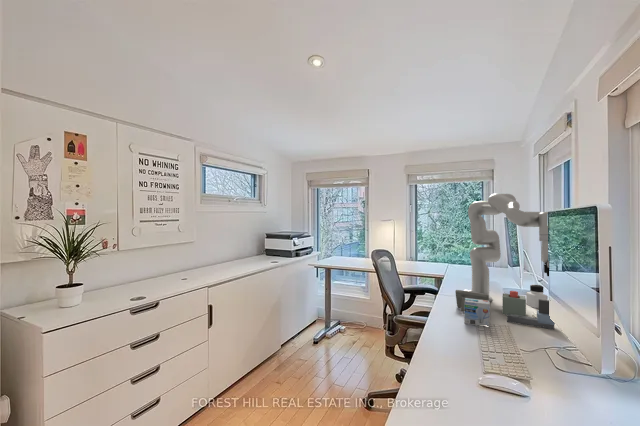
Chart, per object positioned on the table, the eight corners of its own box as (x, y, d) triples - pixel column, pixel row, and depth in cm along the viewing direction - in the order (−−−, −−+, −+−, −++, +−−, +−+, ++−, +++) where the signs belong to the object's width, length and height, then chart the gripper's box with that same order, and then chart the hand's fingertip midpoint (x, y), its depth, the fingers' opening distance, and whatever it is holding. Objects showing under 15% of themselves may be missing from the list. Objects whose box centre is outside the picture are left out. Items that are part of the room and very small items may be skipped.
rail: (506, 321, 143) (506, 315, 143) (507, 319, 146) (506, 313, 146) (554, 329, 133) (554, 323, 133) (553, 326, 136) (553, 320, 136)
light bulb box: (464, 323, 140) (464, 300, 140) (464, 319, 146) (464, 297, 146) (490, 327, 135) (490, 304, 135) (489, 323, 141) (489, 300, 141)
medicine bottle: (547, 308, 163) (547, 286, 163) (534, 308, 163) (534, 286, 164) (538, 304, 170) (538, 283, 171) (526, 304, 171) (526, 283, 171)
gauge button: (509, 300, 154) (509, 291, 154) (509, 298, 157) (509, 290, 157) (518, 301, 152) (518, 292, 152) (518, 299, 155) (517, 291, 155)
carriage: (538, 322, 135) (537, 301, 135) (536, 318, 141) (536, 297, 141) (554, 325, 132) (554, 303, 132) (552, 320, 137) (552, 299, 138)
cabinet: (502, 314, 154) (502, 296, 154) (502, 309, 160) (502, 293, 160) (526, 317, 148) (525, 299, 148) (525, 313, 155) (525, 296, 155)
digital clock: (491, 313, 155) (491, 293, 155) (484, 317, 149) (483, 296, 149) (460, 306, 168) (460, 287, 168) (452, 309, 162) (452, 289, 162)
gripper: (537, 236, 148) (537, 271, 148) (541, 238, 133) (542, 277, 133) (556, 237, 144) (556, 272, 144) (562, 239, 129) (563, 278, 129)
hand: (549, 274), depth 138 cm, fingers open, 9 cm apart
